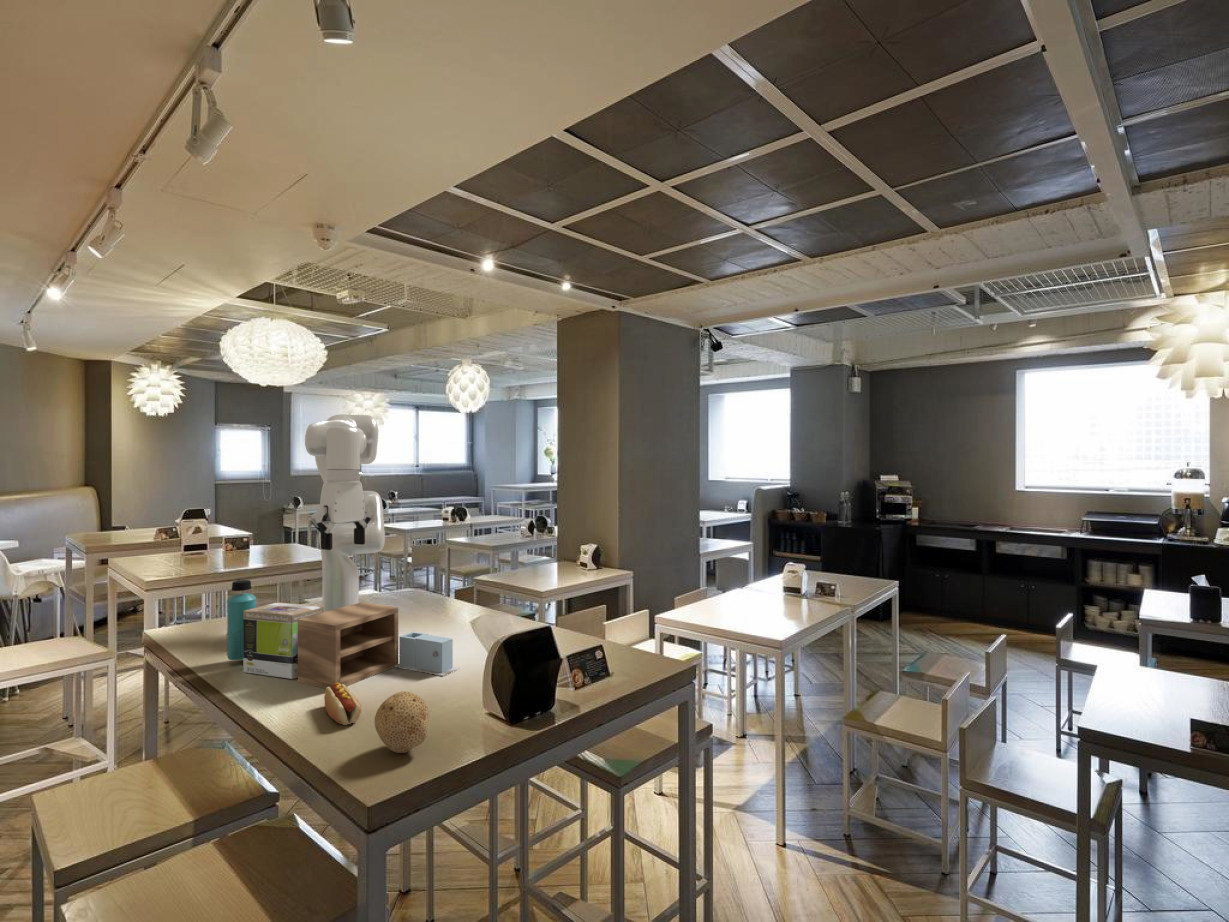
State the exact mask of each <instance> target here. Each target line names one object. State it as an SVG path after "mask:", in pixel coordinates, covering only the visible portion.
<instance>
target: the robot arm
mask: <svg viewBox="0 0 1229 922" xmlns="http://www.w3.org/2000/svg"><path fill="white" fill-rule="evenodd" d="M378 426H379V425H378V423H377V420H376V419H375V418H374V417H373V416H371V415H367V414H345V413H344V414H343V413H342V414H334V415H331V416H330V417H329V418H328V419H327V420H324V421H317V422H313V423H310V424H309V425H308V426H307V428H306V430H305V434H304V446H305V451H306V452H307V453H308V454H309V455H310V456H313V457H314V460H315V465H316V467H317V470H318V473H319V474H320V478H321V479H322V482H323V484H322V488H321V492H320V498H319V499H320V501H319V509H318V510H317V511H316V512H314V513H313V514H311V516H310V519H311V521H312V523H313V526H314V527H315V529H316V530H317V532H318V542H319V548H320V555H321V569H322V571H321V572H322V573H321V574H322V577H321V578H322V586H321V587H322V591H321V593H322V595H321V596H322V606H324V612H327V611H331V610H335V609H339V608H342V607H346V606H350V605H354V604H357V603H360V597H359V595H360V593H359V591H360V587H359V585H360V584H359V583H360V582H359V581H360V577H359V576H360V575H359V573H360V572H359V568H358V565H357V564H356V563H355V562H354V561H353V560H352V559H351V558H350V556H352V555H361V554H363V555H364V554H375V553H378V552H381V551H382V550H383V549H384V547H385V543H386V532H385V521H384V520H385V519H384V507H383V501H382V498H381V495H380V494H379V492H377V491H374V490H364V488H363V484H362V482H361V481H360V480H361V477H362V476H363V473H362V471H360V470H361V465H370V464H372V463H373V462H374V461H375V460H376V458H377V454H378V453H377V452H378V442H379V427H378Z"/></svg>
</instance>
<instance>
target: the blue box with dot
mask: <svg viewBox="0 0 1229 922" xmlns="http://www.w3.org/2000/svg"><path fill="white" fill-rule="evenodd" d="M453 640H454V639H453V638H449V637H444V636H438V635H432V634H431V635H430V634H429V633H425V632H418V631H411V632H409V633H406V634H404V635H400V636H398V664H399V666H403V667H409V668H419V669H424V670H429V671H434V672H439V673H443V672H446V671H448V670H450V669H452V668H453V667H454V666H453V665H454V664H453V659H454V658H453V655H454V654H453V651H454V650H453V649H454V648H453V643H454V642H453Z"/></svg>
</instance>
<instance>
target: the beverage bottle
mask: <svg viewBox="0 0 1229 922" xmlns="http://www.w3.org/2000/svg"><path fill="white" fill-rule="evenodd" d="M251 589H252V583H251V580H249V579H239V580H234V581H232V584H231V591H232V592H242V591H249V590H251ZM226 604H227V605H226V607H227V609H226V611H227V613H226V616H227V617H226V618H227V621H226V622H227V624H226V625H227V628H226V631H227V632H226V634H225V635H226V656H227V658H228V660H230V661H243V611H245V610H249V609H253V608H257V596H255V595H254V594H252V593H251V592H243V593H235V594H232V595H231V596H230V597H228V599H227V600H226Z"/></svg>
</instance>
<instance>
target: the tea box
mask: <svg viewBox="0 0 1229 922" xmlns="http://www.w3.org/2000/svg"><path fill="white" fill-rule="evenodd" d="M323 612H324V606H323V605H314V604H313V605H312V604H303V603H301V604H300V603H291V602H273V603H270V604H265V605H261V606H258V607H257V606H256V608H253V609H249V610H245V611H243V660H242V662H243V664H242V665H243V673H247V674H254V675H261V676H268V677H276V678H284V679H288V680H289V679H290V680H294V679H296V678H297V679H298V619H301V618H304V617H308V616H312V615H316V614H320V613H323Z"/></svg>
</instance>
